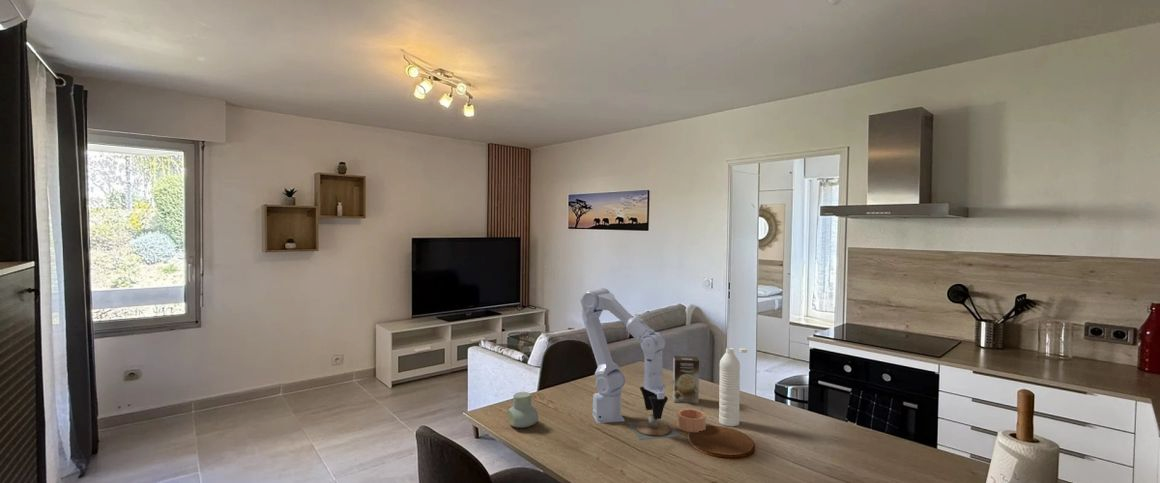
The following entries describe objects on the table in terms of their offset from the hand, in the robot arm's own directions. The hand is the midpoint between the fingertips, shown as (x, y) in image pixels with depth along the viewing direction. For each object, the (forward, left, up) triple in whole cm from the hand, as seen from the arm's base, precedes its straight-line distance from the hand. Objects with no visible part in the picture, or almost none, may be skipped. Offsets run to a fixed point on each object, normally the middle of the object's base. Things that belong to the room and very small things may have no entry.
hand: (653, 414), depth 154 cm
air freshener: (-41, +12, -6) cm, 43 cm away
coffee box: (+21, +24, -6) cm, 32 cm away
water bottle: (+28, +1, -6) cm, 28 cm away
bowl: (+13, 0, -5) cm, 14 cm away
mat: (0, 0, -5) cm, 5 cm away
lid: (0, 0, -5) cm, 5 cm away
